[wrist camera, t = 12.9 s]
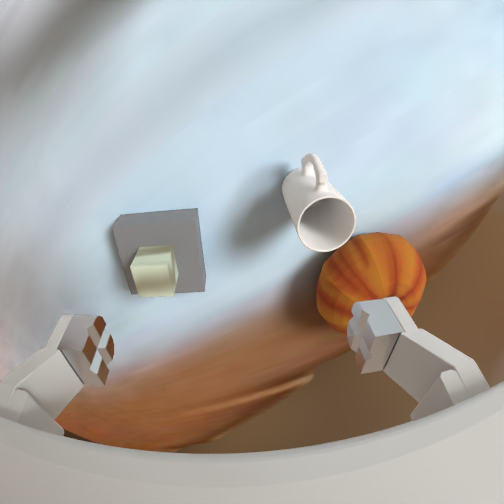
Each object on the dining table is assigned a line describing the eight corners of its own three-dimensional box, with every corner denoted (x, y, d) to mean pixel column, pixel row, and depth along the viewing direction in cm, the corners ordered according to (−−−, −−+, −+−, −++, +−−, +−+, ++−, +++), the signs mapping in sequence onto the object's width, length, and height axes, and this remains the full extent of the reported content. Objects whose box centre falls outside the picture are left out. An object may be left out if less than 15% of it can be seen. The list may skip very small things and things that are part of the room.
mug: (325, 206, 43) (354, 248, 33) (281, 212, 43) (298, 256, 33) (323, 140, 38) (357, 163, 28) (275, 144, 38) (293, 168, 28)
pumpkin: (304, 314, 55) (322, 379, 42) (316, 221, 45) (350, 280, 32) (392, 305, 56) (423, 359, 43) (419, 221, 46) (468, 270, 33)
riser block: (120, 214, 42) (111, 227, 38) (197, 208, 42) (194, 220, 39) (137, 279, 48) (131, 294, 44) (205, 276, 48) (204, 291, 45)
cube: (139, 247, 40) (130, 267, 36) (172, 244, 40) (166, 265, 36) (146, 275, 43) (139, 297, 38) (178, 274, 43) (173, 296, 39)
